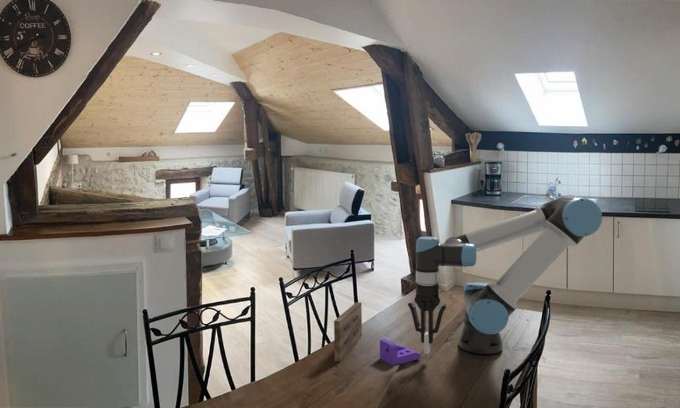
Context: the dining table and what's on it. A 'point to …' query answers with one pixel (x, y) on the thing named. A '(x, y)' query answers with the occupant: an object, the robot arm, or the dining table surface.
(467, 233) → the robot arm
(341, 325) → the upright wooden plank
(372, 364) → the dining table surface
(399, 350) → the bracket
